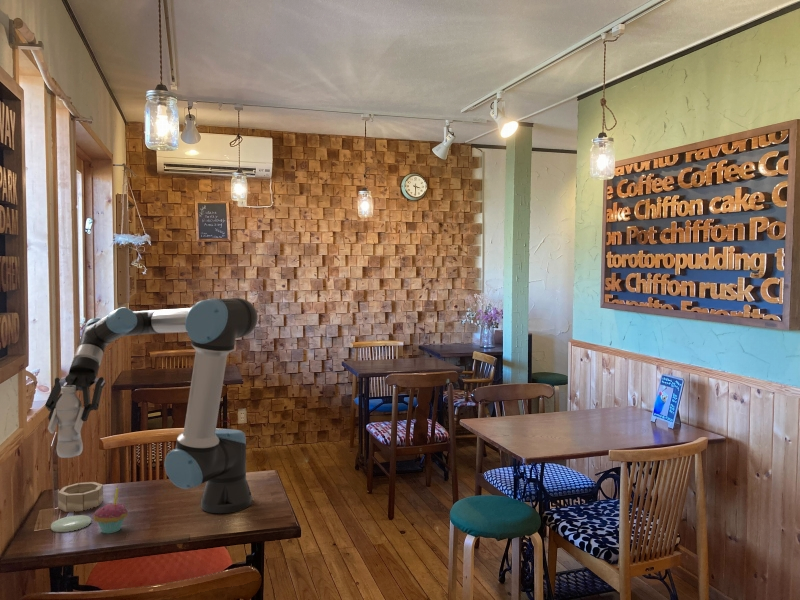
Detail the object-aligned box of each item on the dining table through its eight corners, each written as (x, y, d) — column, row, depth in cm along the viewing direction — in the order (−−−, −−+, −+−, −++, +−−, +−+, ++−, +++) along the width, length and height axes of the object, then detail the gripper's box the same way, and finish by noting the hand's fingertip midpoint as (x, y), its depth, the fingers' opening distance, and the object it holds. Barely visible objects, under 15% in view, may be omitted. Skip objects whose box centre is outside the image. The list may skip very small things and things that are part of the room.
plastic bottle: (88, 454, 175) (87, 384, 175) (69, 461, 169) (68, 389, 168) (70, 452, 177) (68, 383, 176) (50, 459, 171) (49, 387, 170)
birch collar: (109, 502, 191) (109, 486, 191) (72, 514, 181) (72, 497, 181) (88, 495, 197) (88, 480, 197) (52, 506, 188) (52, 490, 187)
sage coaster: (98, 523, 175) (98, 520, 175) (62, 535, 167) (62, 532, 167) (79, 515, 181) (79, 512, 181) (43, 526, 172) (43, 524, 172)
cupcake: (119, 521, 176) (118, 480, 176) (133, 529, 171) (133, 486, 170) (88, 531, 169) (87, 488, 169) (102, 539, 164) (102, 495, 164)
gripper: (122, 370, 189) (104, 436, 173) (56, 371, 186) (31, 438, 171) (116, 355, 183) (96, 422, 167) (48, 355, 181) (21, 424, 165)
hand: (63, 430), depth 169 cm, fingers closed on plastic bottle, 6 cm apart
